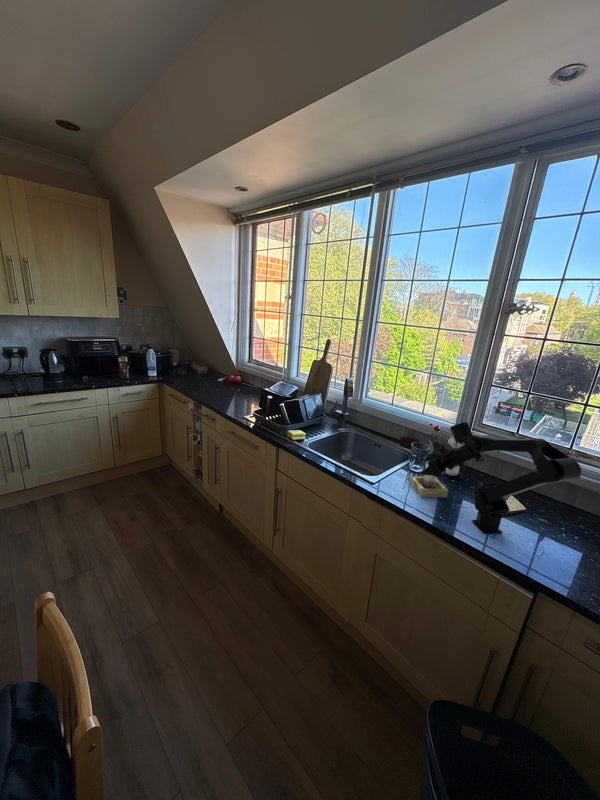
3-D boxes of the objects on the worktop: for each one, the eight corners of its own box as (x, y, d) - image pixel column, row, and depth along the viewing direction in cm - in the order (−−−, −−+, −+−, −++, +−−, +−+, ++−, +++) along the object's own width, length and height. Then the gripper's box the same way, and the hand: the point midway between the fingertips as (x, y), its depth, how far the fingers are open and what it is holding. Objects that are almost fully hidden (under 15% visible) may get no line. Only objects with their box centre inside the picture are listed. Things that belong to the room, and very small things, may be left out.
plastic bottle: (459, 478, 139) (469, 435, 134) (443, 476, 140) (452, 433, 135) (455, 471, 145) (464, 430, 140) (439, 469, 146) (448, 428, 141)
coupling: (438, 493, 125) (444, 468, 122) (425, 493, 124) (430, 467, 121) (430, 484, 132) (435, 459, 129) (417, 484, 131) (422, 459, 128)
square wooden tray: (446, 497, 124) (448, 490, 123) (421, 497, 123) (422, 490, 122) (433, 483, 134) (434, 476, 133) (409, 482, 132) (410, 476, 132)
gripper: (460, 430, 125) (428, 446, 135) (437, 440, 112) (404, 457, 123) (477, 456, 121) (443, 471, 132) (455, 469, 109) (420, 484, 120)
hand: (428, 470), depth 127 cm, fingers open, 9 cm apart
